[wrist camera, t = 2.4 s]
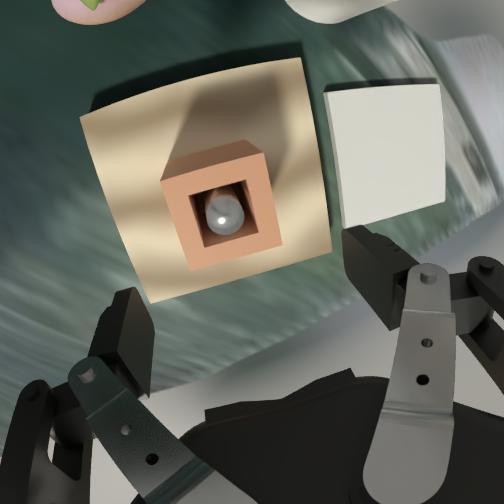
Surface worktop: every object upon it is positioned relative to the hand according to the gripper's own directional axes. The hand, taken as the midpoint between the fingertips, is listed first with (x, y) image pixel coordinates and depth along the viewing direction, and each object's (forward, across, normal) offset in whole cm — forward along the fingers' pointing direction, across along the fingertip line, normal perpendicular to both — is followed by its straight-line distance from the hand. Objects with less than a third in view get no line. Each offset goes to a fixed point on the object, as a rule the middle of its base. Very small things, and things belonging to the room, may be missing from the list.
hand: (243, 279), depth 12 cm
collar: (+12, 0, 0) cm, 12 cm away
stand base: (+14, 0, 0) cm, 14 cm away
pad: (+14, -16, +1) cm, 22 cm away
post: (+12, 0, 0) cm, 12 cm away
